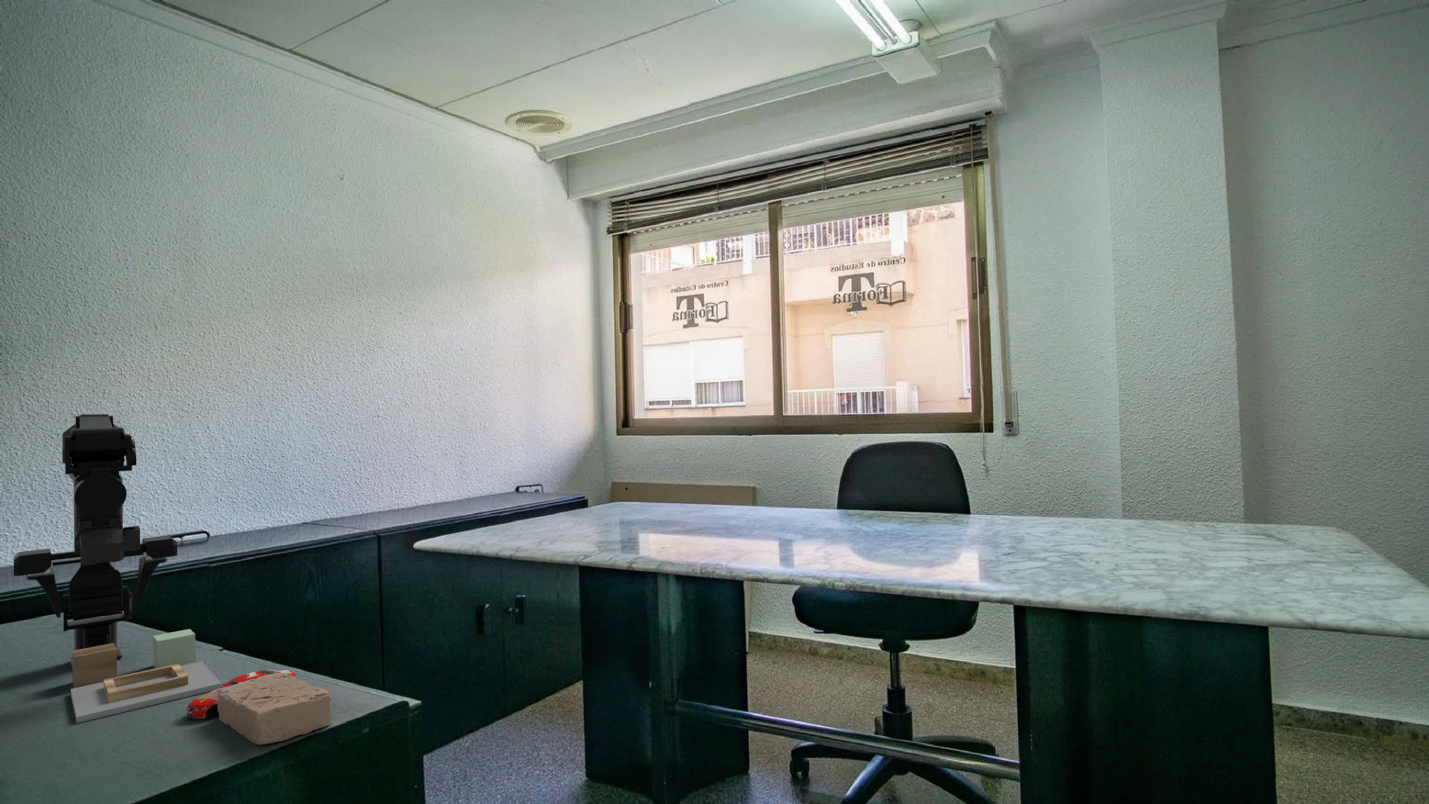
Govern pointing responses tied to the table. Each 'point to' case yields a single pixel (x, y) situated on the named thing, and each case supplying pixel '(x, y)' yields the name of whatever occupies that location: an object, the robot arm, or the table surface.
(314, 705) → the brick
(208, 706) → the race car
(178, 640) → the sage block
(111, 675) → the walnut block
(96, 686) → the baseplate
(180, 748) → the table surface
